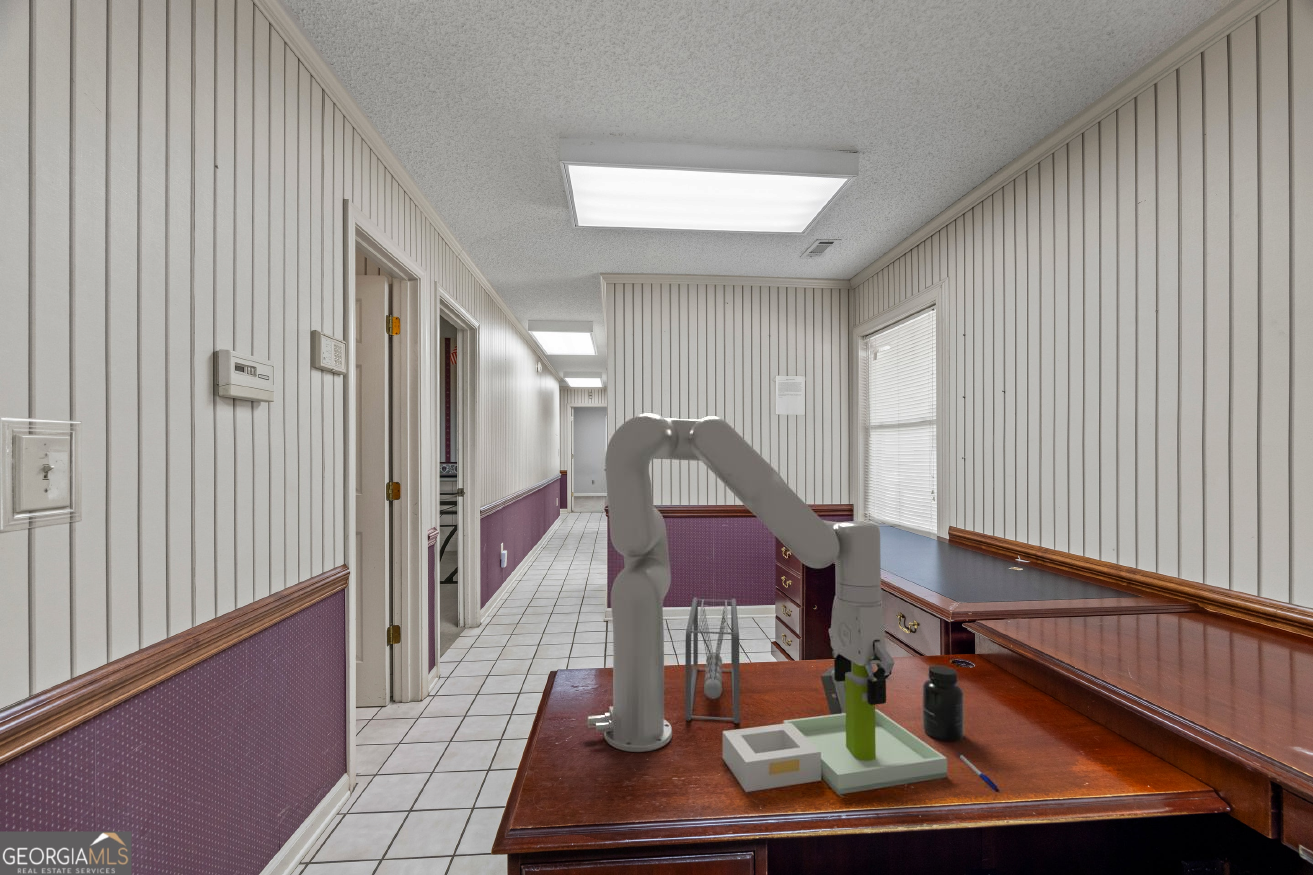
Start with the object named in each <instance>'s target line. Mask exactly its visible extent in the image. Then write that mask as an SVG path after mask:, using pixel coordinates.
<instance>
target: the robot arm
mask: <svg viewBox="0 0 1313 875" xmlns="http://www.w3.org/2000/svg"><path fill="white" fill-rule="evenodd" d="M604 458H605V459H604V460H605V462H604V464H605V465H604V466H605V468H604V469H605V471H604V472H605V479H606V481H605V482H606V490H607V492H606V493H607V507H608V509H607V510H608V518H609V529H610V530H609V533H610V540H611V544H612V546H613V547H614V549H615V551H616V552H618V553H619V554H620V555H622V556H623V561H624V568H622V570H621V571H620V572H619V573H618V574H617V576H616V578H615V579H614V580H613V584H612V587H611V592H610V606H611V617H612V636H613V637H612V642H613V644H612V645H613V646H612V650H613V651H612V652H613V655H612V658H613V659H612V661H613V662H612V664H613V667H612V668H613V669H612V670H613V671H612V673H613V674H612V677H613V678H612V679H613V680H612V683H613V684H612V706H611V705H609V707H608V708H609V709H608V712H604V713H603V714H600V715H597V714H595V715H588V716H587V721H586V722H587V728H588V729H589V728H595V731H596V733H599V732H604V734H603V735H604V740H605V741H606V742H607V743H608V745H610V746H612V747H613V748H615V749H618V750H620V751H624V752H631V753H633V752H634V753H642V752H643V753H644V752H651V751H654V750H658V749H660V748H662V747H664V746H666V745H667V744H668V743H669V742H670V741H671V740H672V736H673V729H672V726H671V723H669V721H667V720H666V719H665V713H664V712H665V635H664V634H665V632H664V630H665V627H664V610H663V608H664V605H663V604H664V599H665V597H666V595H667V594H668V592H669V590H670V587H671V582H672V573H671V564H670V563H671V562H670V554H669V552H670V551H669V544H668V534H667V528H666V527H667V526H666V522H665V519H664V517H663V515H662V514H661V512H660V511H659V510H658V509H657V508H656V507H654V502H653V495H652V494H653V493H652V492H653V490H652V481H651V476H650V464H651V461H652V460H676V461H693V462H694V461H695V462H696V461H697V462H698V461H699V462H702V463H703V465H704V466H706V468H707V469H709V471H711V472H712V474H714V475H715V476H716V478H718V479H719V480H720V481H721V482H722V484H724V486H725V487H727V489H728V490H729V491H730V492H731V493H732V494H733V495H734V496H735V497H736V498H737V499H738V500H739V501H740V502H741V503H742V504H743V506H745V508H747V509H748V510H749V511H750V512H751V513H752V514H753V515H754V516H755V517H757V519H759V521H760V522H762V523H763V525H764V526H765V527H767V529H768V530H769V531H771V532H770V533H772V534H773V536H775V537H776V538H777V540H779V541H780V542H781V543H782V544H783V545H784V546H785V547H786V548H787V549H788V550H789V551H790V552H791V554H793V556H795V557H796V558H797V559H798V560H799V561H800V562H801V563H802V565H805V566H807V567H809V568H812V569H824V568H827V567H829V566H831V565H832V564H833V563H835V565H834V566H835V568H834V569H835V570H834V571H835V573H834V574H835V596H834V598H833V603H832V610H831V619H830V620H831V623H830V624H831V625H830V628H828V635H829V639H830V646H831V648H832V653H831V654H832V657H833V659H834V662H833V666H834V679H835V681H837V682H840V681H845V673H847V672H851V662H853V663H855V664H857V665H859V666H864V665H865V667H866V670H867V672H868V675H869V677H870V679H867V701H868V703H869V704H870V705H875V706H876V705H884V704H886V703H887V681H888V680H889V678H890V676H891V675H892V670H893V667H894V665H895V660H894V658H893V657H892V656H891V654H890V653H889V652H888V650H887V649H886V646H887V645H886V630H885V621H884V620H885V619H884V615H883V614H884V613H883V608H882V605H881V604H882V581H881V580H882V579H881V578H882V577H881V576H882V574H881V570H882V568H881V567H882V566H881V565H882V564H881V532H880V528H879V527H878V525H877V524H875V523H872V522H867V521H858V520H857V521H854V520H852V521H842V522H841V521H840V522H839V521H838V522H837V521H830V520H824V519H822V518H821V517H820V516H819V515H818V514H817V513H816V512H815V511H814V510H813V509H812V508H810V506H809V505H807V503H806V502H805V501H804V500H802V498H801V497H799V495H798V494H796V492H795V491H794V490H793V489H792V488H791V486H789V485H788V483H786V481H785V479H783V477H782V476H781V475H780V474H779V472H778V471H776V469H775V468H774V466H772V465H771V464H770V463H769V462H768V461H767V460H766V459H765V458H764V457H763V456H762V455H760V453H759V452H758V451H757V450H756V449H755V448H754V447H753V446H752V445H751V444H750V443H749V442H748V441H746V439H744V438H743V436H742V435H740V433H739V432H738V431H737V430H735V428H734V427H732V426H731V425H730V423H729V422H727V421H726V420H724V418H721V417H719V416H712V415H711V416H709V415H708V416H706V417H703V418H701V419H687V418H685V419H684V418H683V419H681V418H680V419H679V418H665V417H664V416H661V415H659V414H655V413H649V412H648V413H641V414H637V415H635V416H632V417H631V418H629V419H628V420H626V421H625V422H624V423H622V424H621V425H620V426H619V427H618V428H617V429H616V430H615V431H614V433H613V434H612V436H611V438H610V439H609V442H608V444H607V447H606V451H605V457H604ZM870 659H872V660H870ZM875 666H876V668H877V669H876V670H874V667H875Z"/></svg>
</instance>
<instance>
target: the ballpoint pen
mask: <svg viewBox="0 0 1313 875" xmlns="http://www.w3.org/2000/svg"><path fill="white" fill-rule="evenodd" d="M957 755H958V757H959V758H960V760H962V761H963V762H964V763H965V765H967V766H968V767H969V768H971V770H972V771H974V773H976V774H977V775H978V776H979V778H981V779H982V780H983V781H984V782H985V783H986V784H987V786H989V787H990V788H991V789H992V790H994V791H995V792H999V791H1000V789H999V788H998V786H997V785H996V783H995V782H993V781H992V779H991V778H990V777H988V776H987V775H986V774H984V773H982V772H981V771H980V770H979V769H978V768H977V767H976V766H975V765H974V764H973V763H971V762H970V760H968V759H967V758H966V757H965V756H964V755H963V754H961V753H957Z"/></svg>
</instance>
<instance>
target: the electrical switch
mask: <svg viewBox="0 0 1313 875" xmlns="http://www.w3.org/2000/svg"><path fill="white" fill-rule="evenodd" d="M851 672H853V667H852V661H851ZM820 680H821V685H822V687H823V690H824V694H825V699H826V701H827V705H828V709H829V712H830V715H834V714H842V713H846V700H845V681H840V682H837V681H835V679H834V665H832V666H831V667H830V668H829V669H827V670H826V671H825V672H823V673H822V674H821V675H820Z"/></svg>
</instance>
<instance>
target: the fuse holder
mask: <svg viewBox="0 0 1313 875" xmlns="http://www.w3.org/2000/svg"><path fill="white" fill-rule="evenodd" d="M722 759H723V761H724V762H725V764H726V765H727V767H728V768H729V769H730V771H731V772H732V774H733V775H734V777H735V778H736V780H737V781H738V782H739V784H740V786H741V787H742V788H743V790H744V792H745V793H748V792H749V793H750V792H754V791H762V790H769V789H775V788H780V787H781V788H782V787H788V786H794V785H800V784H808V783H812V782H820V781H822V777H821V751H820V750H819V749H818V748H817V747H815V746H814V745H813V744H812V743H811V742H810V741H809V740H808V739H807V738H806V737H805V736H804V735H803V734H802V733H801V732H800V731H799V730H798V729H797V728H796V727H795V726H794V725H793V724H792V723H786V724H783V723H779V724H770V725H763V726H754V727H753V726H752V727H747V728H739V729H738V728H737V729H729V730H722Z"/></svg>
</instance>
